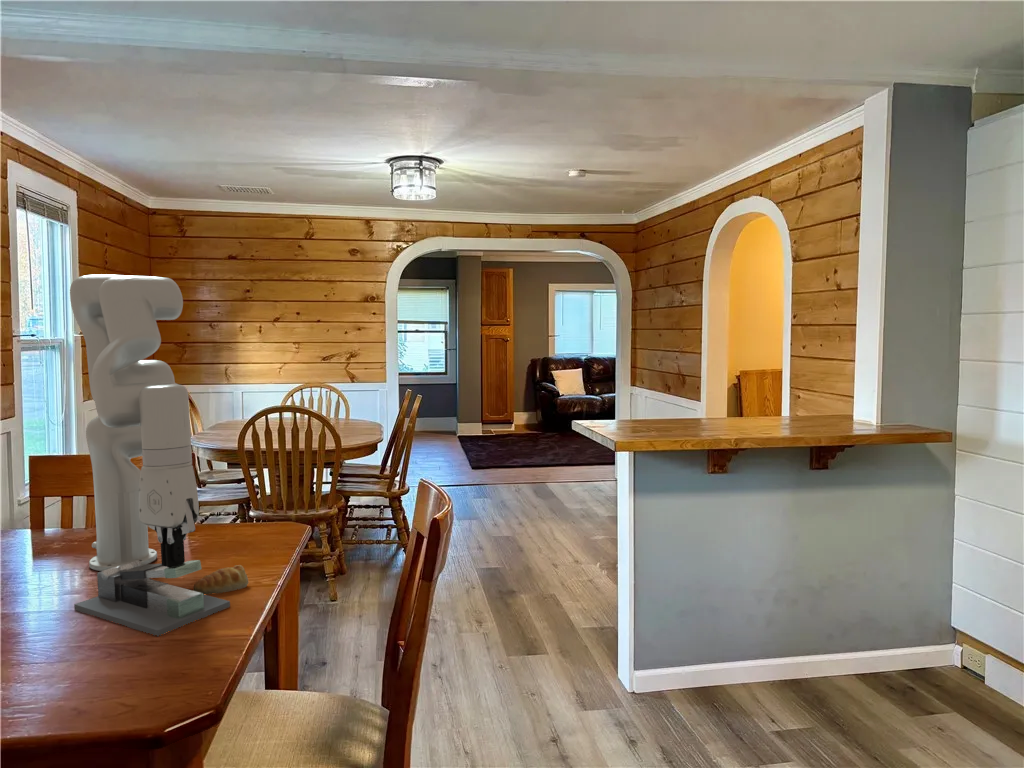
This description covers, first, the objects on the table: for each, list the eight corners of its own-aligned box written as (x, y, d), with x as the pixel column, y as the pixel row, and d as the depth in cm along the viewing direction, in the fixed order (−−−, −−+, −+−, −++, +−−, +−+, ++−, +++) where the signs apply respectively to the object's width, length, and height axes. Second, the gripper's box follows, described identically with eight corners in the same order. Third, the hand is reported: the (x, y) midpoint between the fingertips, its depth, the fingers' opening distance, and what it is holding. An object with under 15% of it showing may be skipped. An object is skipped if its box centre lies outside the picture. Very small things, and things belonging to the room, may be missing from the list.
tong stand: (97, 597, 130) (95, 568, 130) (131, 586, 136) (129, 558, 135) (174, 620, 119) (173, 588, 119) (207, 607, 125) (206, 577, 125)
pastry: (201, 600, 132) (200, 580, 131) (188, 591, 137) (187, 571, 136) (251, 587, 138) (250, 567, 138) (237, 579, 143) (236, 560, 143)
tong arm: (119, 580, 128) (118, 571, 128) (145, 572, 132) (143, 563, 132) (176, 577, 120) (175, 568, 120) (201, 569, 124) (200, 560, 124)
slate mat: (74, 609, 127) (74, 604, 127) (148, 584, 139) (148, 579, 139) (157, 636, 116) (157, 630, 116) (230, 606, 128) (229, 601, 128)
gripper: (119, 458, 123) (125, 565, 124) (176, 463, 115) (182, 576, 116) (159, 452, 129) (165, 554, 130) (216, 456, 122) (221, 563, 123)
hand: (173, 564), depth 123 cm, fingers closed
